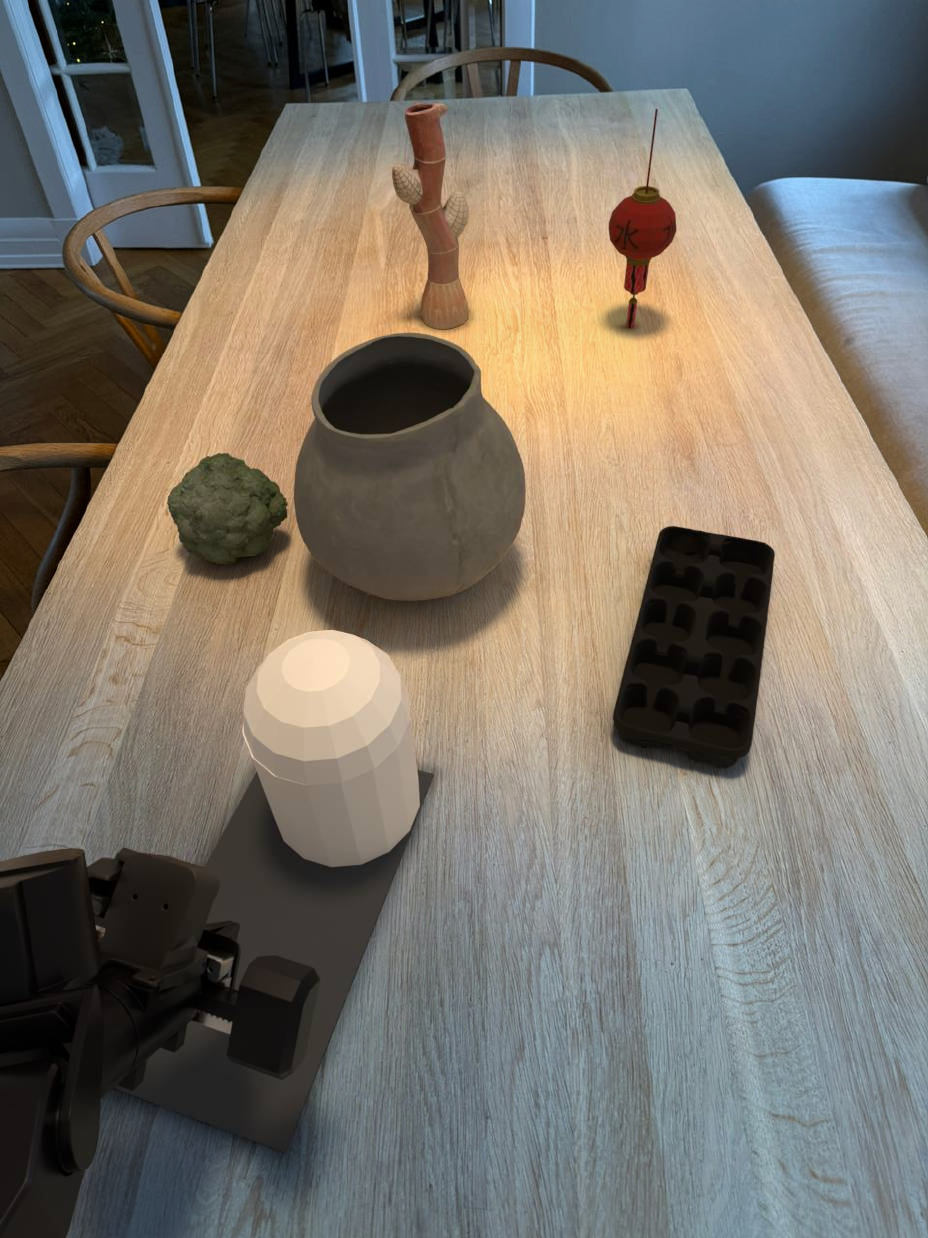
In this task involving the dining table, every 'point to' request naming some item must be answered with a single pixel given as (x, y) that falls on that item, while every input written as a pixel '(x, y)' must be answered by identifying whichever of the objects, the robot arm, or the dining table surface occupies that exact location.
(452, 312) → the vase
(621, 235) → the lantern
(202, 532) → the vegetable
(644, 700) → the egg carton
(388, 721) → the container
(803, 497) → the dining table surface
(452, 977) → the dining table surface
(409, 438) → the ceramic pot
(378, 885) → the plate
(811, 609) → the dining table surface
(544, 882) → the dining table surface
